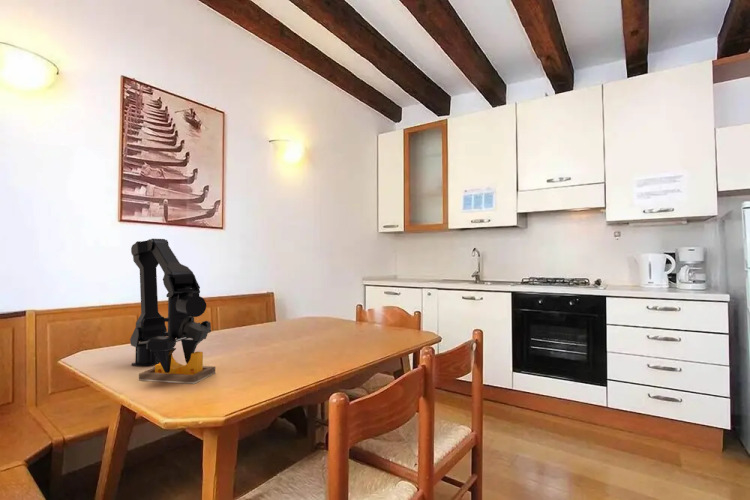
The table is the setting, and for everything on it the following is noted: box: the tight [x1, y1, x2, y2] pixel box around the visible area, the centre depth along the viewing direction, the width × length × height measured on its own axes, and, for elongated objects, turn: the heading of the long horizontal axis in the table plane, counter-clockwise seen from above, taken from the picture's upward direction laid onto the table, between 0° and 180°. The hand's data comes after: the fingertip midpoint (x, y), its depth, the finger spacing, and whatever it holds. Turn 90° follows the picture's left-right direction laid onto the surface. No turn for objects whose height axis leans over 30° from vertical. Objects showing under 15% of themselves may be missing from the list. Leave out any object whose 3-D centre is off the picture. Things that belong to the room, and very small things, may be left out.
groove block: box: [138, 365, 216, 385], centre depth 112 cm, size 17×10×2 cm, turn 81°
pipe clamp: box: [154, 351, 204, 375], centre depth 112 cm, size 12×4×6 cm, turn 81°
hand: (178, 367), depth 112 cm, fingers open, 9 cm apart
